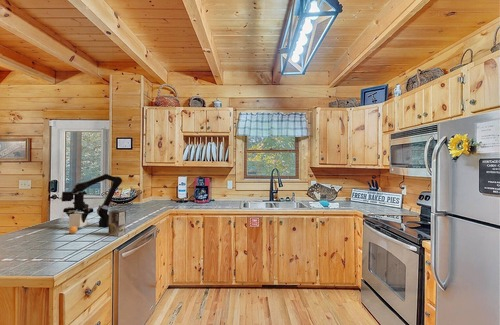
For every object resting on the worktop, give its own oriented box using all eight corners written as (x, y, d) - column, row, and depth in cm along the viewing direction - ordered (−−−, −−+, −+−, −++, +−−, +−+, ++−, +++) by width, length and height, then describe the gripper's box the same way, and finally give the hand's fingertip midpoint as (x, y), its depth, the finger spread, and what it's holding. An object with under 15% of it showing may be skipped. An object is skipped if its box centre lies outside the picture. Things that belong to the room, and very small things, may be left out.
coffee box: (125, 234, 182) (126, 211, 182) (118, 236, 176) (119, 212, 176) (115, 232, 185) (116, 209, 185) (107, 234, 179) (108, 211, 179)
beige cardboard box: (86, 224, 193) (87, 212, 193) (79, 227, 186) (80, 214, 186) (76, 224, 193) (76, 212, 193) (68, 226, 186) (69, 214, 186)
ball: (79, 232, 181) (79, 225, 181) (74, 234, 176) (74, 227, 176) (71, 232, 181) (72, 225, 181) (66, 234, 176) (67, 227, 176)
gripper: (98, 199, 197) (97, 220, 197) (73, 198, 198) (72, 219, 198) (89, 201, 186) (88, 223, 186) (63, 200, 187) (62, 222, 187)
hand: (78, 222), depth 189 cm, fingers closed on beige cardboard box, 8 cm apart
